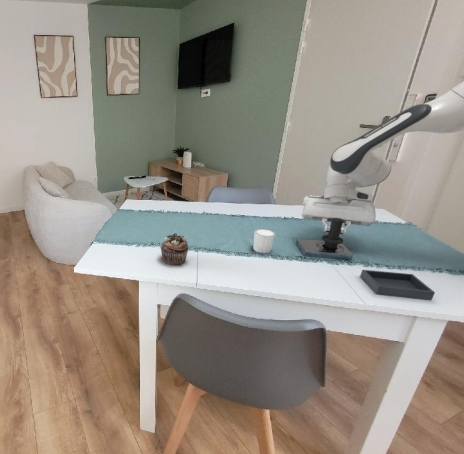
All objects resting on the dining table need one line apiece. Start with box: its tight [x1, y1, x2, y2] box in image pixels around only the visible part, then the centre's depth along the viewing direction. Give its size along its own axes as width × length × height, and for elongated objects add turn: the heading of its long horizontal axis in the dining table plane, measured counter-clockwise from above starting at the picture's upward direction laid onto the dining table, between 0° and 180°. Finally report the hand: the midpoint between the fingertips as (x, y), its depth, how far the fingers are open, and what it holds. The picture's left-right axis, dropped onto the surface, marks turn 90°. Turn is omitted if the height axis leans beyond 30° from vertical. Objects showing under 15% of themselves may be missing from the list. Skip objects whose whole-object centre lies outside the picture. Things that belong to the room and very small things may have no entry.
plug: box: [321, 218, 344, 248], centre depth 101 cm, size 6×6×10 cm
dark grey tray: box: [359, 269, 436, 301], centre depth 83 cm, size 12×9×2 cm
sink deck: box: [295, 238, 354, 261], centre depth 104 cm, size 14×10×2 cm
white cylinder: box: [252, 228, 276, 254], centre depth 107 cm, size 7×7×7 cm
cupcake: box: [160, 233, 189, 266], centre depth 102 cm, size 10×10×10 cm
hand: (334, 232), depth 100 cm, fingers closed on plug, 3 cm apart
